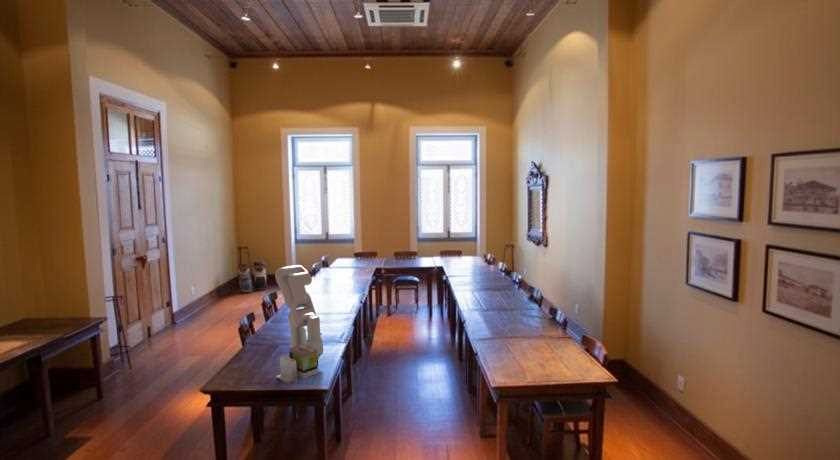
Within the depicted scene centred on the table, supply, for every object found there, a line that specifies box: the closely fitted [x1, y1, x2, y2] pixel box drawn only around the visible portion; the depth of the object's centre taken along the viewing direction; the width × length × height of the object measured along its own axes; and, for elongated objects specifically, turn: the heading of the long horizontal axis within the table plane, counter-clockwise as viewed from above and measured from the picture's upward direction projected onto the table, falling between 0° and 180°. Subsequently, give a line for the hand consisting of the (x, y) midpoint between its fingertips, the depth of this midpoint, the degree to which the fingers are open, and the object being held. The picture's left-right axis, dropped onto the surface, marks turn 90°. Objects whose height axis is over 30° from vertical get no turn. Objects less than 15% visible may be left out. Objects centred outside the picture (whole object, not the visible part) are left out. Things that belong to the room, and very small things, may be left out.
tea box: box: [288, 345, 319, 380], centre depth 270 cm, size 15×10×15 cm, turn 46°
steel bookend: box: [275, 354, 298, 385], centre depth 261 cm, size 12×6×12 cm, turn 48°
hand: (315, 366), depth 277 cm, fingers closed
